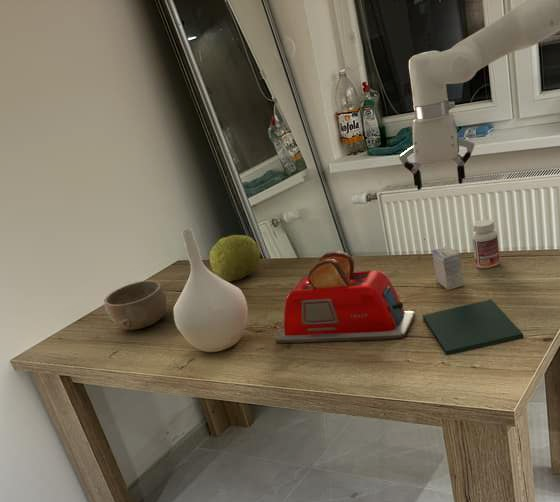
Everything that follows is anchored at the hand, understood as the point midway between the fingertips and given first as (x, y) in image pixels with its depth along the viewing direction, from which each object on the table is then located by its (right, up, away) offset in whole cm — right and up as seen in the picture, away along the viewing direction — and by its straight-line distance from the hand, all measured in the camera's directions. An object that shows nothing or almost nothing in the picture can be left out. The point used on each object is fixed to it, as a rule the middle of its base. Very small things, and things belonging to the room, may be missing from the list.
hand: (440, 185), depth 163 cm
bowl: (-78, -31, +36) cm, 91 cm away
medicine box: (+5, -23, +10) cm, 25 cm away
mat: (+3, -35, -14) cm, 38 cm away
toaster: (-23, -35, 0) cm, 42 cm away
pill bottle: (+16, -17, +15) cm, 28 cm away
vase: (-53, -38, +9) cm, 66 cm away
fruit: (-51, -15, +53) cm, 75 cm away
